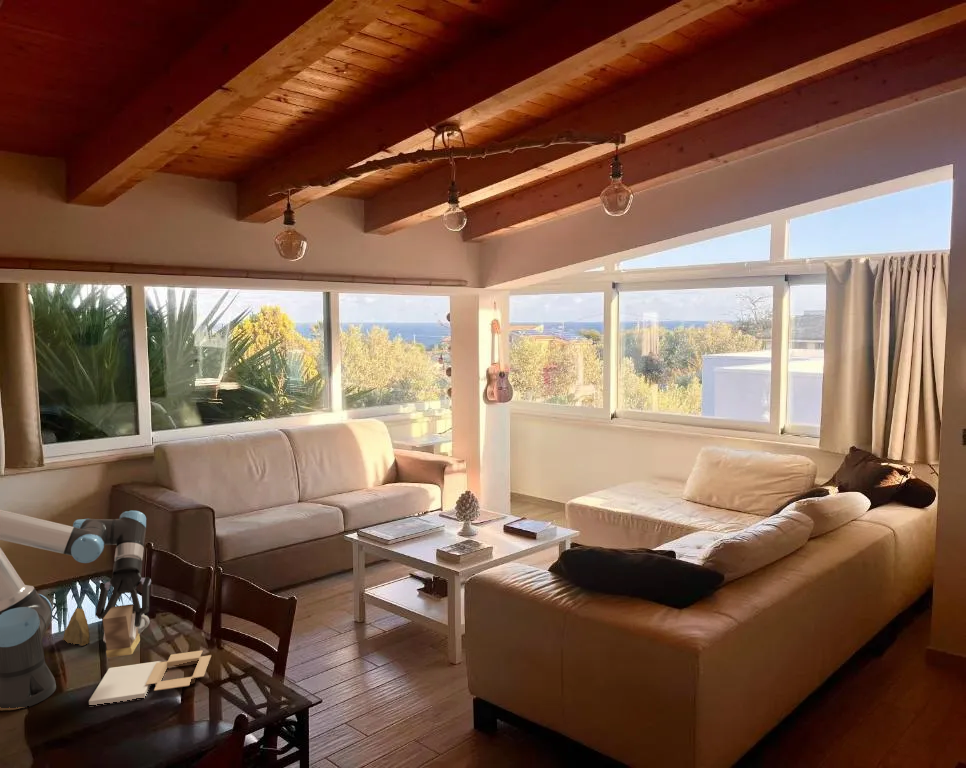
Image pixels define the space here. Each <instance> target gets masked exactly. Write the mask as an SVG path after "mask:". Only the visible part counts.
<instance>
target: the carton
mask: <svg viewBox="0 0 966 768" xmlns="http://www.w3.org/2000/svg"><path fill="white" fill-rule="evenodd" d="M202 654H203V650H195V651H194V650H193V651H189V652H179V653H174V654H172V653H171V654H170V656H169V657H168V660H167V661H166V660H165V661H160V662H158V663H156V665H155V667H154V669H153V671H152V673H151V675H150V677H149V679H148V681H147V683H146V685H149V684H152V685H155V687H154V689H153V691H162V690H169V689H175V688H176V689H177V688H183V687H189V686H190V682H191V679H194V678H197V679H198V678H203V677H205V674H206V672H207V668H208V665H209V663H210V660H211V657H212V654H209V655H202ZM197 660H199V661H198V663H197V665H195V666H196V667H195V669H194V671H193V674H192V675H191V676H186V677H180V678H173V679H165V680H163V681H161V680H162V678H163V676H164V673H165V671H166V669H167V667H168V666H173V665H179V664H183V663H187V662H191V661H197ZM164 677H165V676H164ZM163 679H164V678H163Z"/></svg>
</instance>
